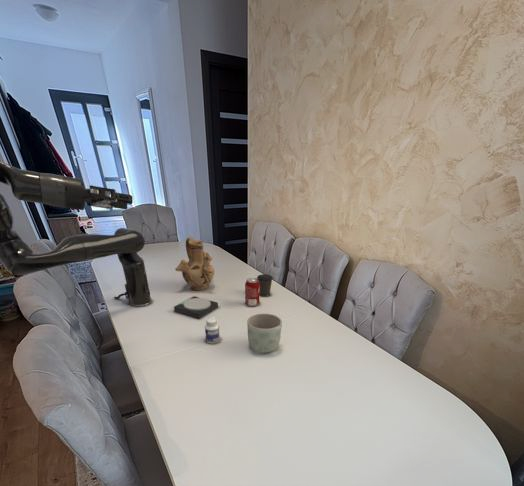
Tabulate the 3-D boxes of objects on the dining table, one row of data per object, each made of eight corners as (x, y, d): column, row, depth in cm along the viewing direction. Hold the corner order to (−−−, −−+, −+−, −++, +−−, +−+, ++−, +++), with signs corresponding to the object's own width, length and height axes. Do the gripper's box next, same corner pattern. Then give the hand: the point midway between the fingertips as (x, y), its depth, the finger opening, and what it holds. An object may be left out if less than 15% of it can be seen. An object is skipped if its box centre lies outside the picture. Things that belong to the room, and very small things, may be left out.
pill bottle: (206, 336, 120) (204, 316, 115) (220, 336, 121) (218, 316, 116) (205, 344, 116) (203, 323, 111) (219, 343, 116) (218, 322, 111)
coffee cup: (253, 294, 157) (253, 275, 152) (263, 290, 162) (264, 271, 157) (264, 298, 153) (265, 279, 147) (275, 294, 158) (276, 275, 152)
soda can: (257, 307, 144) (258, 283, 137) (243, 306, 145) (243, 281, 138) (260, 302, 149) (261, 278, 143) (247, 300, 150) (247, 276, 144)
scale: (174, 311, 138) (173, 305, 136) (194, 300, 149) (193, 294, 147) (199, 319, 133) (198, 312, 131) (218, 307, 143) (217, 300, 141)
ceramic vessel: (177, 293, 156) (171, 242, 142) (186, 280, 172) (181, 233, 158) (213, 294, 156) (210, 244, 142) (218, 281, 172) (216, 235, 158)
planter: (242, 341, 118) (242, 316, 112) (271, 336, 122) (273, 311, 116) (254, 358, 108) (255, 331, 102) (285, 351, 112) (288, 325, 107)
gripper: (64, 211, 86) (126, 220, 95) (63, 202, 74) (134, 212, 83) (61, 182, 85) (124, 193, 93) (60, 168, 73) (133, 182, 81)
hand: (129, 202), depth 88 cm, fingers open, 8 cm apart
